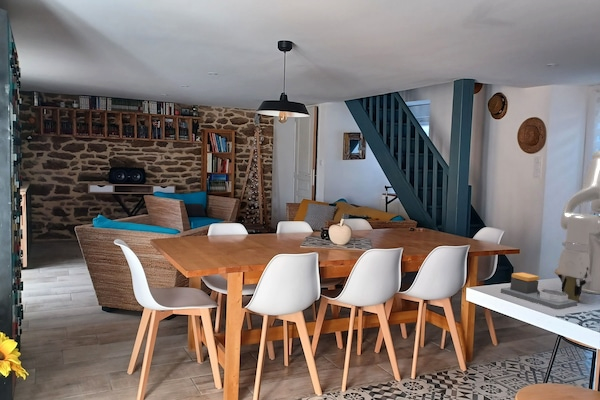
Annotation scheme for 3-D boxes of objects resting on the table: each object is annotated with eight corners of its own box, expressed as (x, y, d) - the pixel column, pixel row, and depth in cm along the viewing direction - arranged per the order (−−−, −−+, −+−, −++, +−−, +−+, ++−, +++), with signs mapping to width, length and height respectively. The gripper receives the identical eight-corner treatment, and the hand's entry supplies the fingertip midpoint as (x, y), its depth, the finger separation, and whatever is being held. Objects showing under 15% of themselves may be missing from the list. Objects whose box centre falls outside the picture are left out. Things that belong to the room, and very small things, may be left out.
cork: (581, 302, 188) (584, 274, 187) (564, 300, 189) (567, 272, 188) (576, 298, 194) (579, 270, 193) (559, 296, 195) (562, 269, 194)
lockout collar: (546, 294, 192) (547, 287, 192) (571, 300, 184) (572, 294, 184) (532, 296, 187) (533, 290, 187) (557, 303, 179) (557, 296, 179)
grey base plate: (520, 289, 203) (521, 274, 203) (576, 305, 184) (578, 289, 184) (500, 292, 196) (502, 277, 196) (557, 309, 177) (559, 292, 177)
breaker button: (521, 283, 200) (522, 272, 199) (537, 287, 194) (538, 276, 193) (510, 284, 196) (511, 273, 196) (527, 289, 190) (528, 277, 190)
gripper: (549, 243, 195) (544, 289, 196) (593, 252, 181) (587, 301, 182) (560, 243, 199) (555, 287, 201) (604, 251, 185) (598, 299, 187)
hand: (570, 293), depth 191 cm, fingers closed on cork, 4 cm apart
